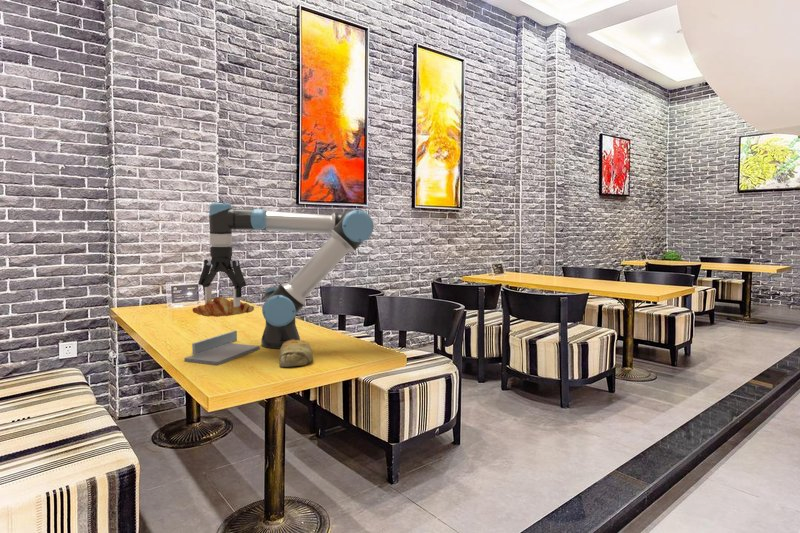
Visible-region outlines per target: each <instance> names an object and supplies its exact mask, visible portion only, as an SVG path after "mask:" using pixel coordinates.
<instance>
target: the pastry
mask: <svg viewBox="0 0 800 533" xmlns="http://www.w3.org/2000/svg"><path fill="white" fill-rule="evenodd" d="M313 358H314V356H313V351H312V348H311V346H310V344H309V343H307V341H305V340H301V339H300V340H295V339H292V340H288V341H286V342H284V343H283V344H282V346H281V348H279V350H278V359H279V368H291V367H301V366H303V367H304V366H307V365H309V364H310V363H312V361H313Z"/></svg>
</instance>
